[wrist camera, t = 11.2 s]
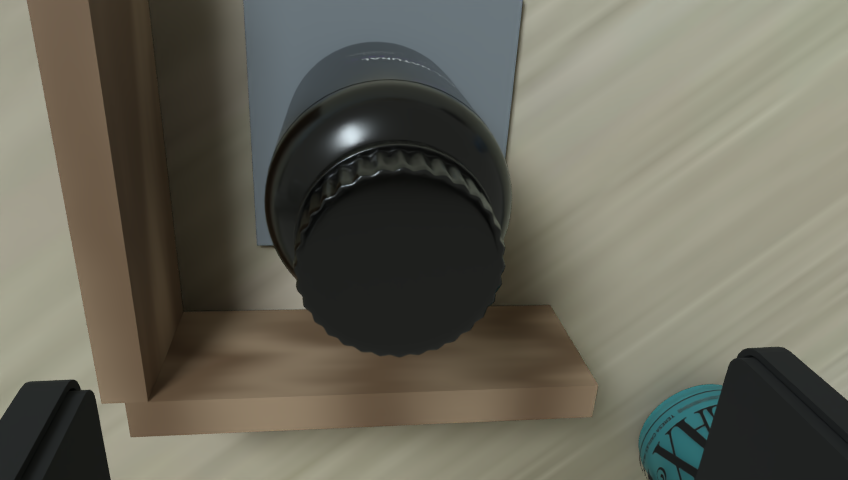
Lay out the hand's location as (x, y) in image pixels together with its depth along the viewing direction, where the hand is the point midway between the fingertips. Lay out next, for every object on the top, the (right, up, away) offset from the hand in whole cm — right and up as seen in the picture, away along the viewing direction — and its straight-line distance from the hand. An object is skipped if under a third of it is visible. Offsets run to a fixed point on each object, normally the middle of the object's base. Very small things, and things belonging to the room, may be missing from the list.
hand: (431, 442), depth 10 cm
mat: (-2, +8, +16) cm, 18 cm away
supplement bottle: (-2, +7, +16) cm, 18 cm away
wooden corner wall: (-3, +7, +16) cm, 18 cm away
